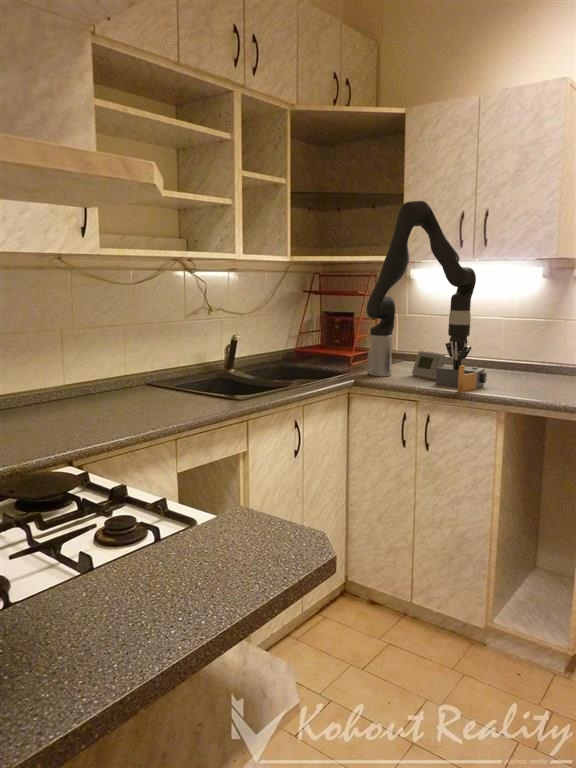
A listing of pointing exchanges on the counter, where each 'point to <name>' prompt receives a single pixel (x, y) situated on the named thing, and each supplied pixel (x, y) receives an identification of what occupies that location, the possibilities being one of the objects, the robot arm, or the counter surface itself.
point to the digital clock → (428, 364)
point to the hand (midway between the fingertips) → (456, 369)
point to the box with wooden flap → (450, 376)
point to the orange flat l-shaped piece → (466, 380)
